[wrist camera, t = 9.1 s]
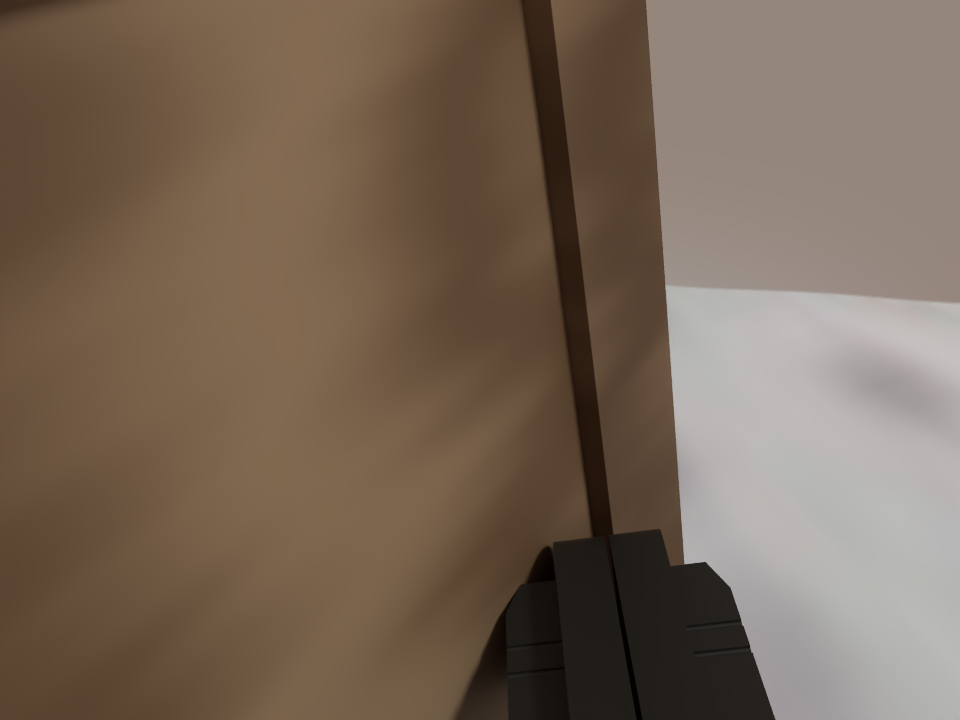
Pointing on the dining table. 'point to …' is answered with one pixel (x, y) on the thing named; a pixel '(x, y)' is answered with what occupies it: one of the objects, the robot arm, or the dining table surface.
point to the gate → (317, 346)
